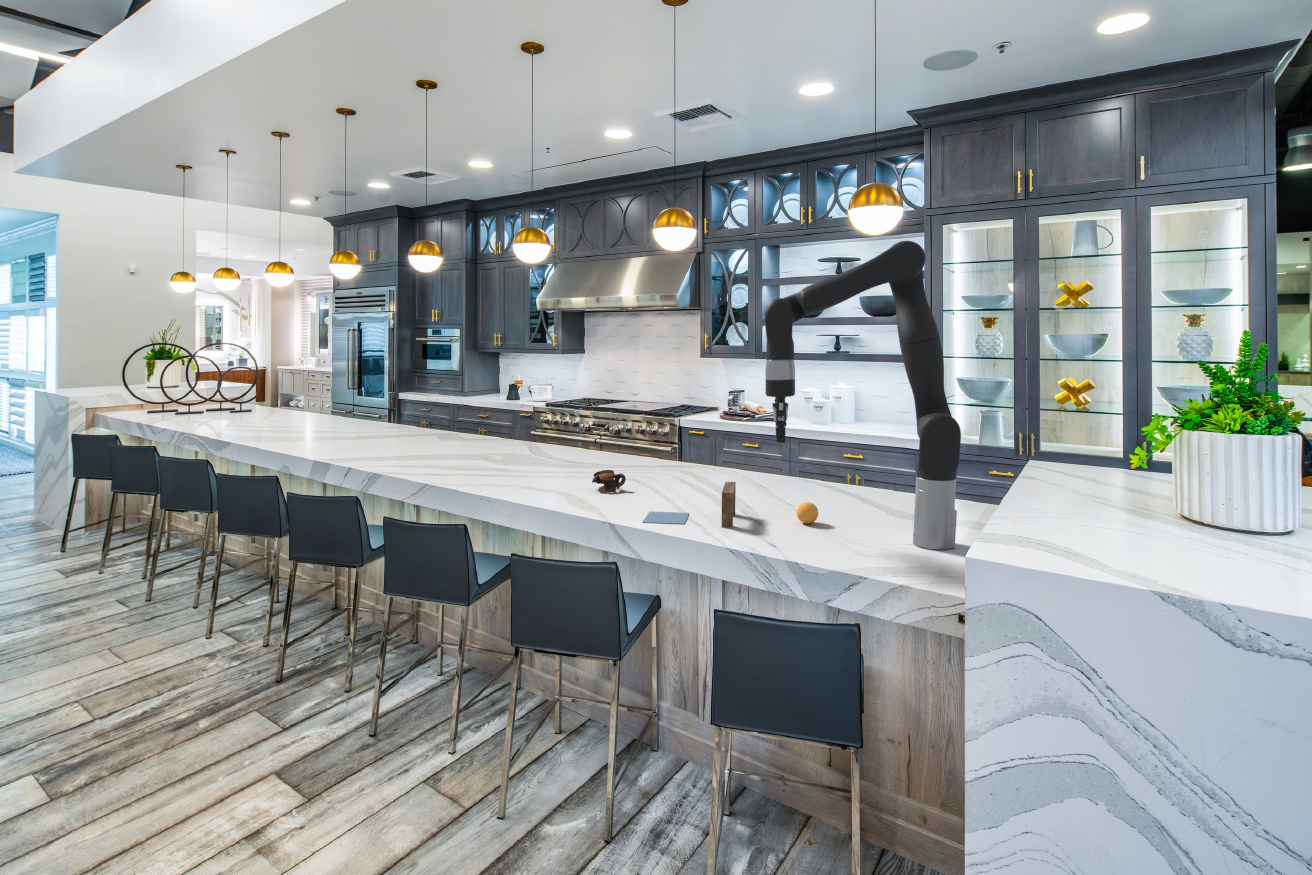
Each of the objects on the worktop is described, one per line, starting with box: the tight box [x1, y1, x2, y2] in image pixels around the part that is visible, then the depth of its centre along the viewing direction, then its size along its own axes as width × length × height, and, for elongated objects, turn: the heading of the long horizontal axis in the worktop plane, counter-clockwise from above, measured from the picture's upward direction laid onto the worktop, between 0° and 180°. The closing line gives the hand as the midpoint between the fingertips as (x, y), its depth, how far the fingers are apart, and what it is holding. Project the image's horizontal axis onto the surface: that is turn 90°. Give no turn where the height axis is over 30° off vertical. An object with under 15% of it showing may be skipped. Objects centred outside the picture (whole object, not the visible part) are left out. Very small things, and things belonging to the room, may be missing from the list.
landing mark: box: [641, 510, 690, 525], centre depth 199 cm, size 12×12×1 cm
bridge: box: [721, 481, 737, 528], centre depth 195 cm, size 3×15×10 cm, turn 171°
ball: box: [796, 501, 819, 525], centre depth 192 cm, size 6×6×6 cm
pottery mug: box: [591, 469, 627, 494], centre depth 236 cm, size 12×10×8 cm
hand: (780, 439), depth 178 cm, fingers open, 8 cm apart
